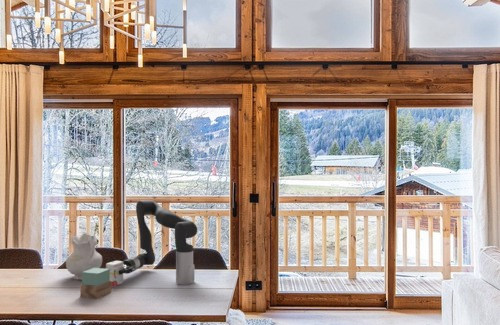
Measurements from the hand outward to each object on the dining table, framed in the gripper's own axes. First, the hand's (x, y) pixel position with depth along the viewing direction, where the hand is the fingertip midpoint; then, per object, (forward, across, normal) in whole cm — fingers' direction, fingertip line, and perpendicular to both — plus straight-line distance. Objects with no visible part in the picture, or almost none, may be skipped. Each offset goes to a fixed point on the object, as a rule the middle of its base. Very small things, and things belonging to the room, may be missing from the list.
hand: (112, 272), depth 209 cm
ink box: (-2, 0, +7) cm, 8 cm away
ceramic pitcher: (-8, -24, +7) cm, 27 cm away
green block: (+16, +2, +1) cm, 16 cm away
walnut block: (+15, +2, +7) cm, 17 cm away
